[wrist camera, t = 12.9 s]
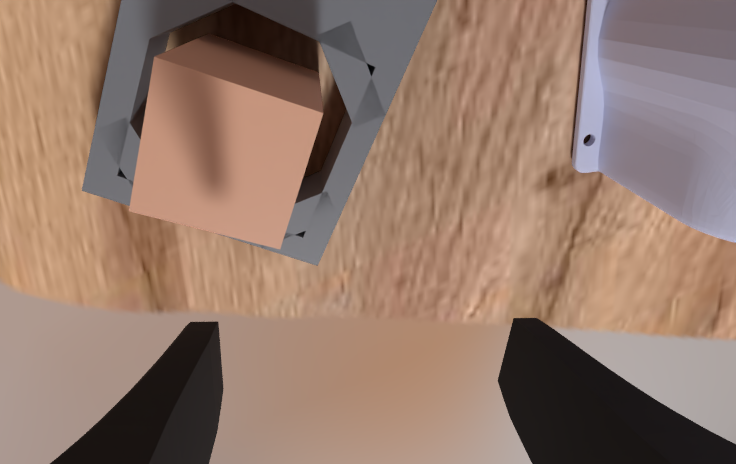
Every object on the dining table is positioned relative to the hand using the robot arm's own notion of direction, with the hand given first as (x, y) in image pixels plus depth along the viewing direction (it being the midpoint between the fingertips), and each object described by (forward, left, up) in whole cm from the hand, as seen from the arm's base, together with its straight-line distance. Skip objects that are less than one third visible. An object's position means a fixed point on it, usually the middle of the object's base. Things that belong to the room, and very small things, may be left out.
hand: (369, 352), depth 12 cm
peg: (+4, +3, -11) cm, 12 cm away
